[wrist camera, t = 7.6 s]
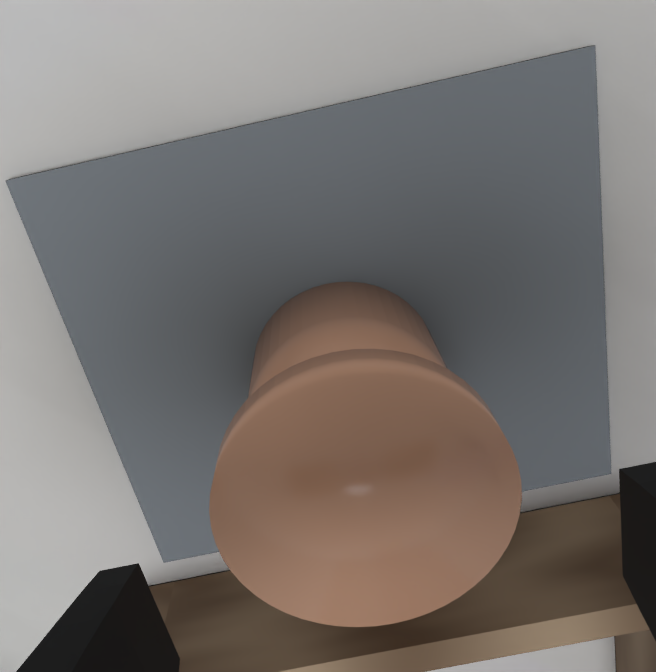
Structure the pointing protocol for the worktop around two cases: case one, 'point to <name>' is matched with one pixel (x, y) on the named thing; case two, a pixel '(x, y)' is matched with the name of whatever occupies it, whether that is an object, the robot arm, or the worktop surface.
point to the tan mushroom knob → (360, 466)
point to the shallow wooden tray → (442, 624)
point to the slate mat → (340, 265)
